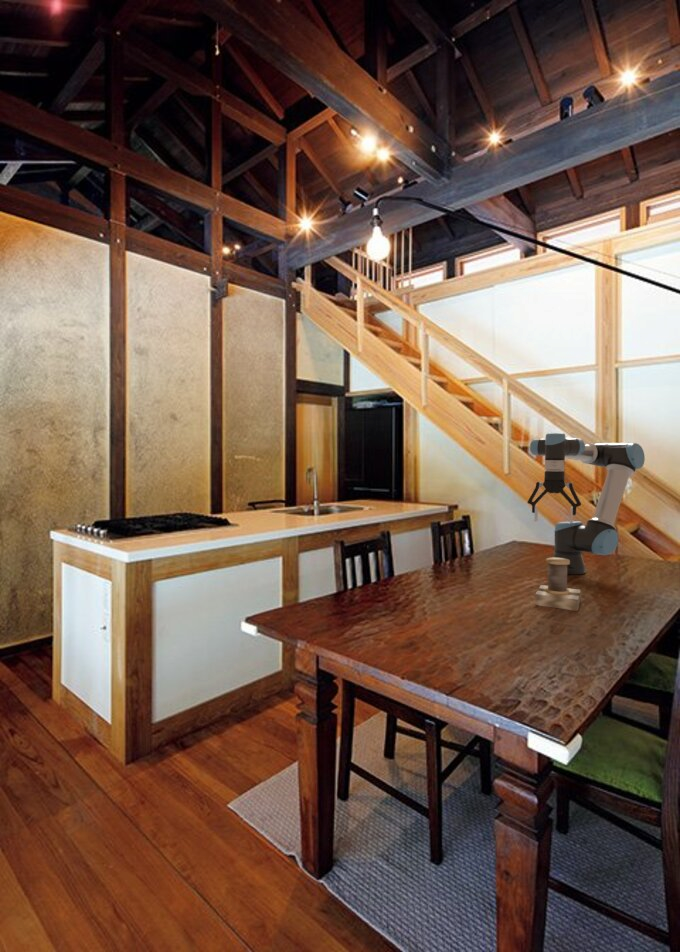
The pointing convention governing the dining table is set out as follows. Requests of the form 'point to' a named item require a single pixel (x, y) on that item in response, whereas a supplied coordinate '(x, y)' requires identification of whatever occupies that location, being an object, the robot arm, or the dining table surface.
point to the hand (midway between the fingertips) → (553, 522)
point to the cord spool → (557, 576)
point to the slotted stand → (558, 599)
